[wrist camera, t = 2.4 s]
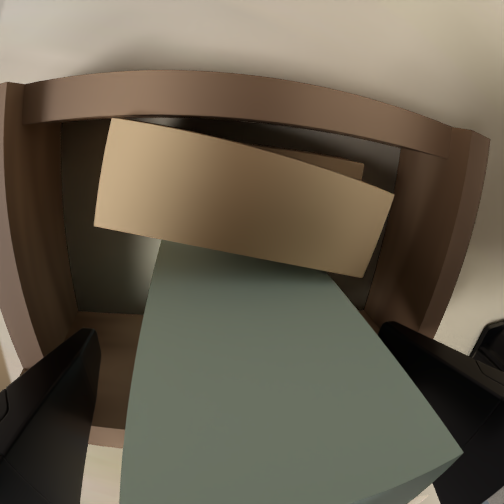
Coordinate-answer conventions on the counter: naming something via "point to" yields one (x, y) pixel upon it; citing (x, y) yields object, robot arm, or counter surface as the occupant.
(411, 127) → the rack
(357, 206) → the offcut top
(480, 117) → the counter surface
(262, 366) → the grey-green rectangular block
